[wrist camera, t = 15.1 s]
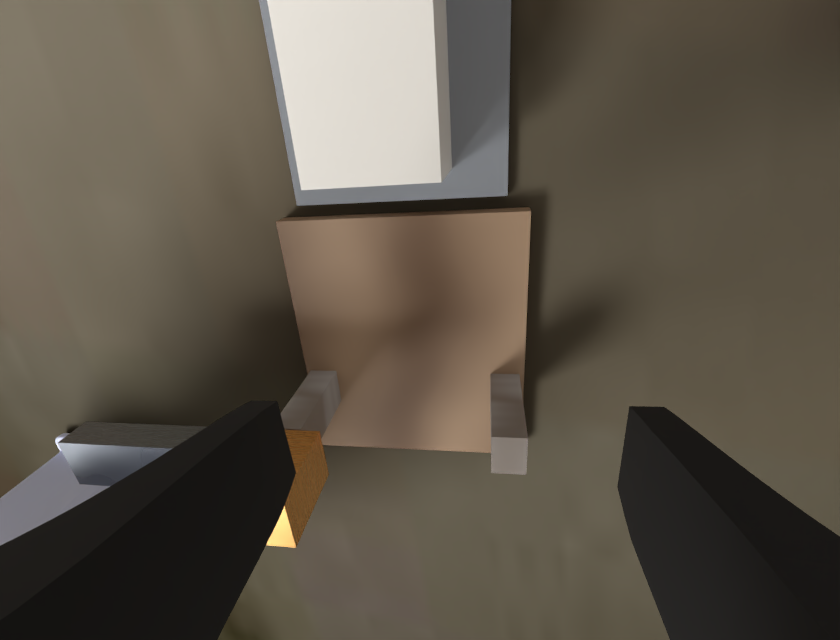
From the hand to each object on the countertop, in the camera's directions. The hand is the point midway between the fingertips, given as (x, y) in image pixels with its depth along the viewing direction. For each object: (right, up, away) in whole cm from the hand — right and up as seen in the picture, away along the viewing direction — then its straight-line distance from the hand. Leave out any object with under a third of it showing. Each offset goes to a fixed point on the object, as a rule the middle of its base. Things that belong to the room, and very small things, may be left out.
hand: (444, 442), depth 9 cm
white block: (-2, +12, +5) cm, 13 cm away
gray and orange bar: (-9, -2, +7) cm, 11 cm away
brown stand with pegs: (-1, +2, +10) cm, 10 cm away
